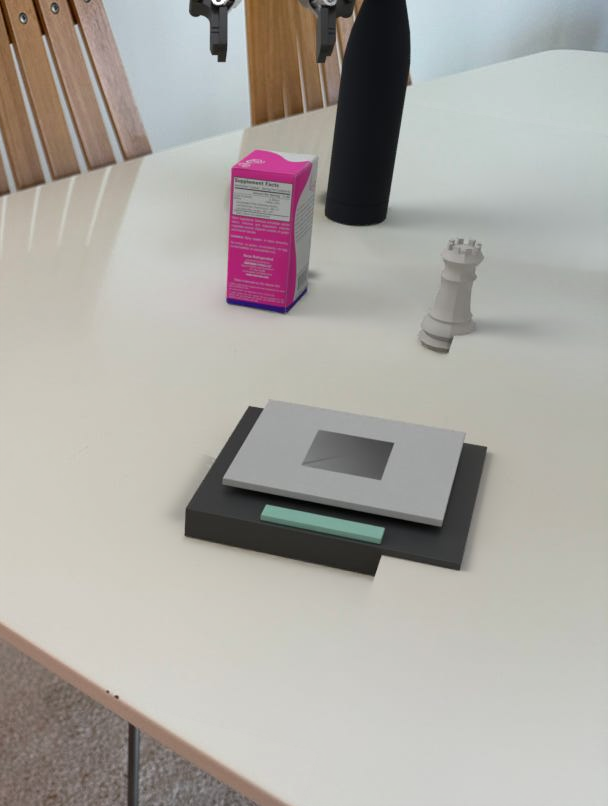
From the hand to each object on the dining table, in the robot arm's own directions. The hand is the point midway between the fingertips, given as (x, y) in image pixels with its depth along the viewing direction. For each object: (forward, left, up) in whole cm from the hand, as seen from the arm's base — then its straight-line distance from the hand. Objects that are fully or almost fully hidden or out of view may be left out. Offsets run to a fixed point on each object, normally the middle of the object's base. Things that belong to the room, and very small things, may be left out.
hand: (272, 57), depth 89 cm
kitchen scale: (-16, +41, -17) cm, 47 cm away
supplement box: (-3, +10, -17) cm, 20 cm away
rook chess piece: (-19, +14, -17) cm, 29 cm away
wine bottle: (-6, -15, -17) cm, 24 cm away
